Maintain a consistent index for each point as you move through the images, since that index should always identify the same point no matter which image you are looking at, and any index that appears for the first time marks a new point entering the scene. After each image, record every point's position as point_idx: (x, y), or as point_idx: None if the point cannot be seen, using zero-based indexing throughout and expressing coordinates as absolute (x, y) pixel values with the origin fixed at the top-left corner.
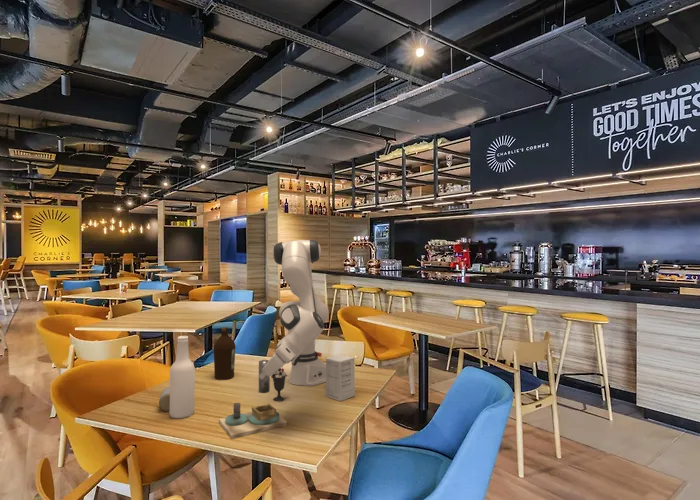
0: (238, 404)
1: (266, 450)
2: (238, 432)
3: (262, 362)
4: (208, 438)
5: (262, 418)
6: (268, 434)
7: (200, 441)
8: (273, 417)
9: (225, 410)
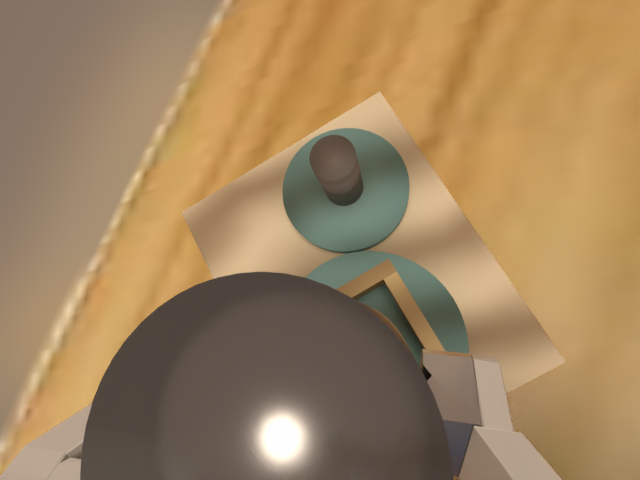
0: (322, 169)
1: (66, 396)
2: (207, 236)
3: (122, 413)
4: (208, 116)
5: None
6: None
7: (185, 94)
8: None
9: (554, 80)
